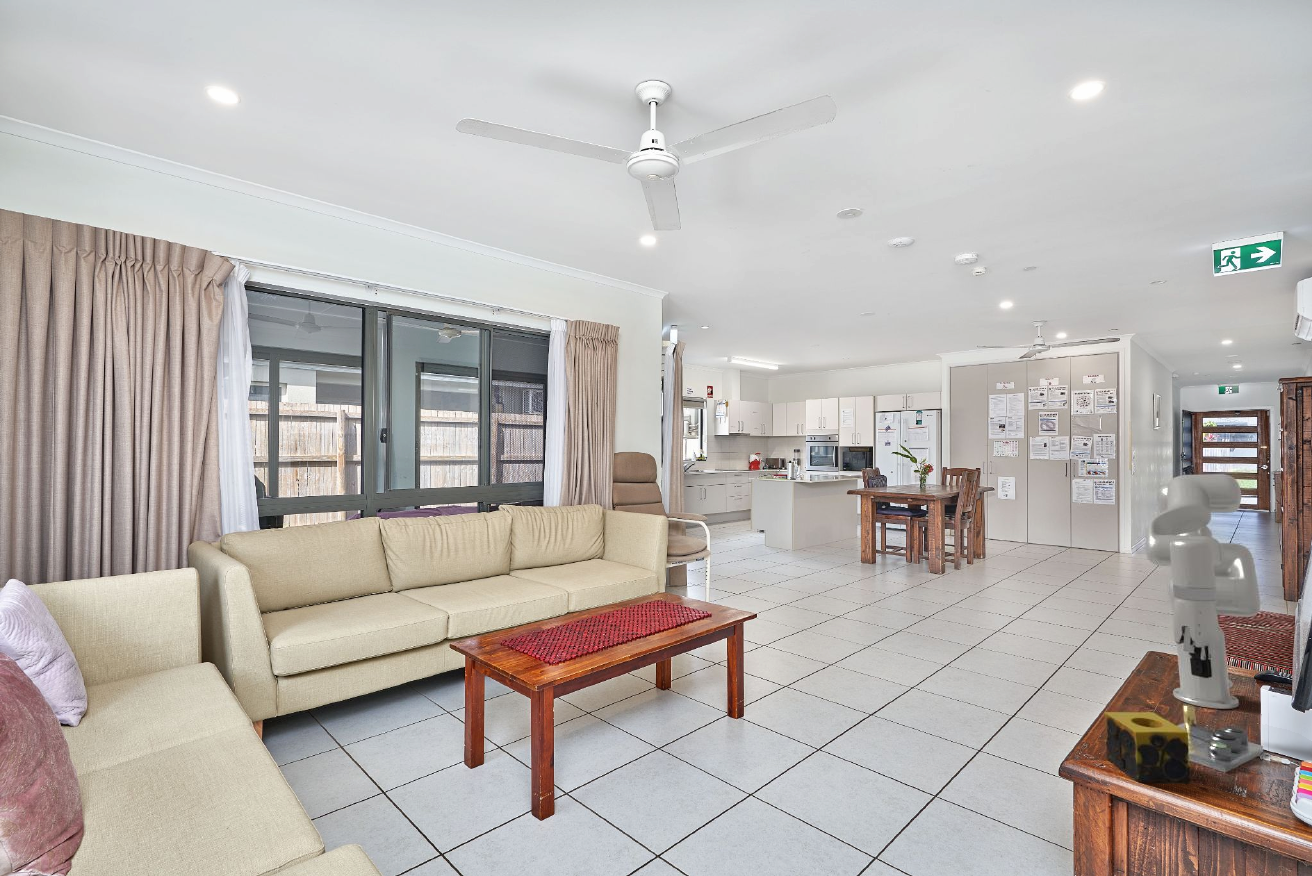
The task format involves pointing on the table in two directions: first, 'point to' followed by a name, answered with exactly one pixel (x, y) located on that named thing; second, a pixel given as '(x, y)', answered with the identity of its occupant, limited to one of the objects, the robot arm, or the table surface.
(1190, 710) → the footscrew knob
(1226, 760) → the plate
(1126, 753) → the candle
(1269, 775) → the table surface
